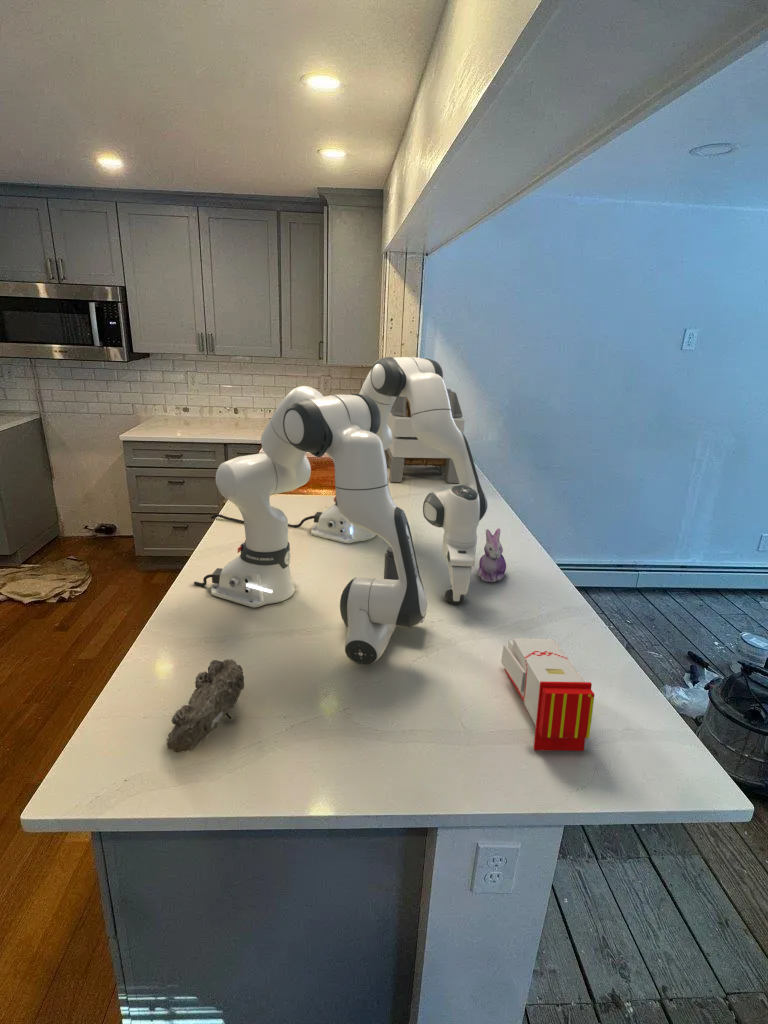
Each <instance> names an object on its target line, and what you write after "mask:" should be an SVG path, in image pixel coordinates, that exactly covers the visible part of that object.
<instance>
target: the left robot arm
mask: <svg viewBox="0 0 768 1024" xmlns="http://www.w3.org/2000/svg"><path fill="white" fill-rule="evenodd" d="M380 422H381V417H380V411H379V408H378V406H377V404H376V402H375V401H374V400H373V399H372V398H370V397H368V396H365V395H361V394H359V393H350V394H344V393H343V394H342V393H341V394H340V393H339V394H329V395H323V394H322V393H321V392H320V391H319V390H317V389H315V388H314V387H311V386H307V385H301V386H296V387H295V388H293V389H292V390H290V392H289V393H287V395H286V396H285V397H284V398H283V399H282V400H281V402H280V403H279V404H278V405H277V407H276V409H275V410H274V412H273V414H272V415H271V417H270V419H269V421H268V422H267V424H266V426H265V428H264V430H263V432H262V433H261V438H260V443H261V448H262V449H261V450H262V451H263V452H260V453H254V454H248V455H240V456H236V457H234V458H230V459H229V460H226V461H224V462H221V463H220V464H219V466H218V468H217V469H216V473H215V484H216V488H217V490H218V492H219V493H220V495H221V496H222V497H223V498H224V499H226V500H227V501H229V502H231V503H232V504H234V505H235V507H237V509H238V511H239V513H240V514H241V516H242V520H243V521H244V523H243V525H244V537H245V539H244V542H242V543H241V544H240V546H239V547H238V548H237V549H236V553H237V554H239V553H240V554H239V555H238V556H236V557H235V558H233V559H232V560H231V561H229V562H228V563H227V564H225V565H224V566H223V567H220V568H219V567H218V568H216V569H215V570H214V571H213V572H212V573H210V574H207V575H205V576H204V577H203V581H202V582H198V581H194V582H193V585H196V586H199V587H205V586H206V585H207V583H208V581H207V580H208V579H210V578H211V584H213V585H212V586H211V587H210V588H211V589H210V594H211V596H213V597H216V598H220V599H223V600H227V601H229V602H233V603H237V604H239V605H244V606H247V607H250V608H259V607H262V606H265V605H272V604H277V603H280V602H283V601H287V600H288V599H289V598H290V599H291V597H292V596H293V595H294V594H295V592H296V589H295V584H294V583H293V579H292V574H291V567H290V563H291V547H290V546H291V545H290V542H289V526H288V524H289V520H288V517H287V515H286V514H285V512H284V511H283V510H282V509H280V508H278V507H275V506H273V505H271V502H270V497H271V496H274V495H278V494H284V493H287V492H288V493H289V492H293V491H295V490H296V489H299V488H301V487H302V486H305V485H306V484H308V482H309V480H310V478H311V474H312V467H311V463H310V459H308V457H307V455H306V454H307V453H310V454H311V455H313V456H314V457H316V458H321V457H323V456H324V455H326V453H328V454H329V455H330V456H331V457H330V459H332V462H333V467H334V486H335V488H334V489H335V496H336V499H337V505H338V508H339V511H340V512H341V514H342V515H343V516H344V517H345V518H346V519H347V520H348V521H349V522H351V523H352V524H354V525H355V526H357V527H359V528H362V529H364V530H367V531H369V532H372V533H374V534H376V535H375V536H378V537H380V538H381V539H383V540H384V541H385V542H386V543H387V544H388V545H389V547H391V548H392V550H393V554H394V559H395V563H396V568H397V573H398V577H399V580H390V579H384V578H377V577H358V576H357V577H354V578H352V579H351V580H350V581H349V582H348V583H347V584H346V585H345V587H344V588H343V590H342V593H341V595H340V601H339V611H340V616H341V619H342V621H343V623H344V625H345V627H346V628H347V634H346V637H345V643H344V652H345V654H346V657H347V658H349V660H351V661H352V662H354V663H355V664H358V665H366V666H367V665H373V664H374V663H376V662H377V661H378V660H379V659H380V658H381V657H382V655H383V654H384V652H385V650H386V649H387V647H388V644H389V642H390V640H391V636H392V635H393V633H394V631H395V629H396V627H403V628H408V629H411V628H413V627H415V626H416V625H419V624H423V623H424V622H425V619H426V616H427V612H428V599H427V594H426V591H425V588H424V584H423V581H422V578H421V574H420V570H419V564H418V560H417V555H416V551H415V546H414V542H413V536H412V531H411V528H410V527H411V526H410V525H409V520H408V517H407V515H406V513H405V510H403V509H402V508H400V507H399V506H397V504H396V502H395V501H394V499H393V497H392V495H391V492H390V488H389V475H388V474H389V473H388V467H387V464H386V458H385V452H384V448H383V444H382V441H381V439H380V438H379V437H378V436H377V435H376V433H377V432H378V430H379V427H380Z"/></svg>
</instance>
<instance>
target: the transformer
mask: <svg viewBox="0 0 768 1024" xmlns="http://www.w3.org/2000/svg"><path fill="white" fill-rule="evenodd" d="M446 389H447V393H448V397H449V401H450V407H451V413H452V417H453V420H454V422H455V424H456V426H457V428H458V429H459V431H461V432H462V433H463V434H464V431H465V430H464V429H465V419H464V418H463V411H462V408H461V405H460V402H459V398H458V395H457V392H455V391H453V390H452V389H451V388H447V386H446ZM387 425H388V426H389V428H390V429H391V432H392V443H391V445H390V447H389V448H388V449H386V450H384V452H385V458H386V464H387V468H389V475H388V479H389V480H390V482H391V483H402V482H403V475H404V469H405V466H406V467H407V466H411V467H412V466H413V467H415V466H416V467H417V466H418V467H436V468H437V470H438V469H439V473H440V474H441V475H443V478H444V479H445V481H446V482H447V483H449V484H455V483H456V484H460V483H459V480H458V476H457V473H456V469H455V466H454V462H453V460H452V459H451V457H450V456H449V455H448V454H446V453H444V452H443V451H440V450H438V449H435V448H432V447H429V446H427V445H425V444H423V443H422V442H421V441H420V440H419V439H418V438H417V437H416V436H415V433H414V431H413V426H412V419H411V411H410V403H409V400H408V398H407V397H401V396H398V397H397V398H396V400H395V402H394V405H393V407H392V409H391V411H390V413H389V416H388V419H387Z"/></svg>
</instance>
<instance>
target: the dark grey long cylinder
mask: <svg viewBox="0 0 768 1024" xmlns="http://www.w3.org/2000/svg"><path fill="white" fill-rule="evenodd" d="M383 579H390V580H399V577H398V573H397V568H396V563H395V559H394V554H393V550H392V548H391V546H388V547H387V548H386V552H385V553H384V564H383Z"/></svg>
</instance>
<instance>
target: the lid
mask: <svg viewBox="0 0 768 1024" xmlns="http://www.w3.org/2000/svg"><path fill="white" fill-rule="evenodd" d="M444 601H446V602H447V603H449V604H453V605H459V604H462V603H464V601H465V595H460V601H453V590H452V588H449V589H447V590H445V591H444Z"/></svg>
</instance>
